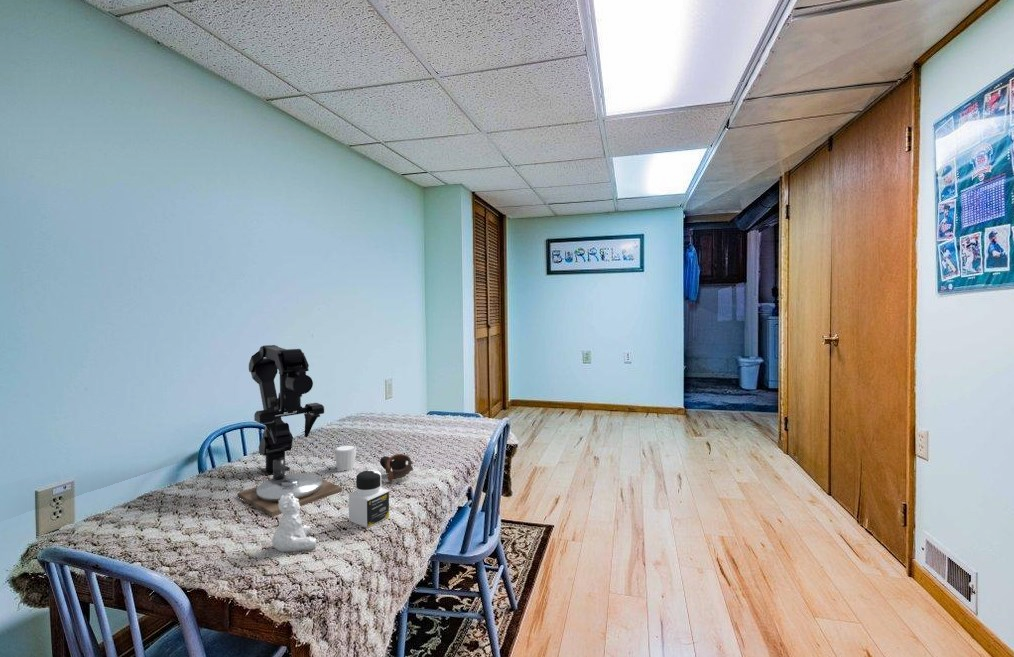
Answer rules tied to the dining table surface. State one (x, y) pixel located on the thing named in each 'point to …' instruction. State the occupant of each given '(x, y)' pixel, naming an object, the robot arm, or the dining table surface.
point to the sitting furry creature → (292, 528)
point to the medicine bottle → (368, 500)
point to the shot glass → (345, 457)
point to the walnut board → (272, 507)
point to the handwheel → (288, 484)
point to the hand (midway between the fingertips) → (290, 440)
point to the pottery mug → (396, 466)
